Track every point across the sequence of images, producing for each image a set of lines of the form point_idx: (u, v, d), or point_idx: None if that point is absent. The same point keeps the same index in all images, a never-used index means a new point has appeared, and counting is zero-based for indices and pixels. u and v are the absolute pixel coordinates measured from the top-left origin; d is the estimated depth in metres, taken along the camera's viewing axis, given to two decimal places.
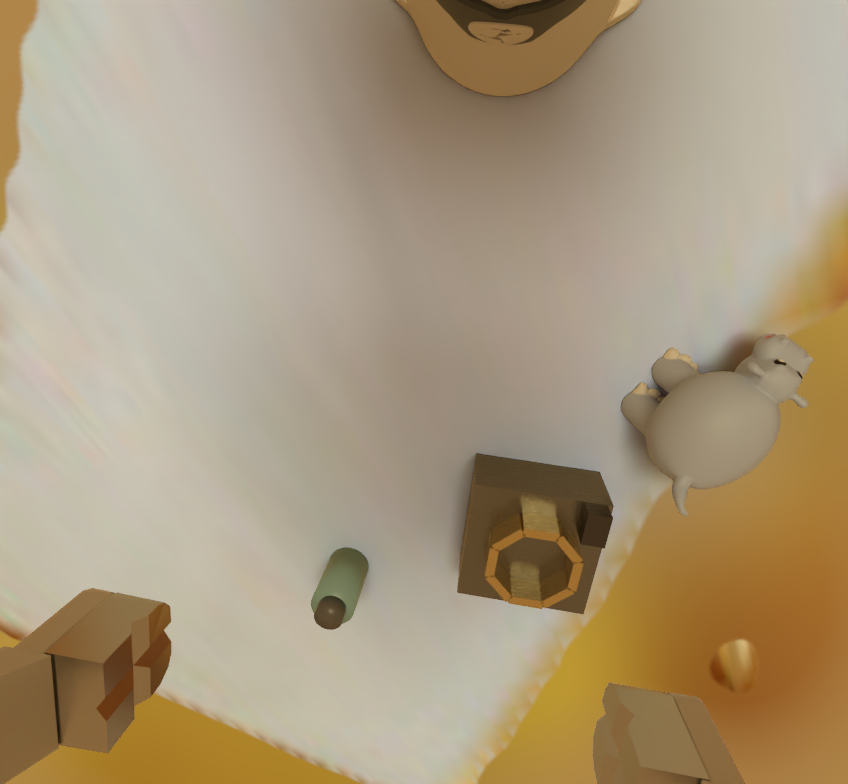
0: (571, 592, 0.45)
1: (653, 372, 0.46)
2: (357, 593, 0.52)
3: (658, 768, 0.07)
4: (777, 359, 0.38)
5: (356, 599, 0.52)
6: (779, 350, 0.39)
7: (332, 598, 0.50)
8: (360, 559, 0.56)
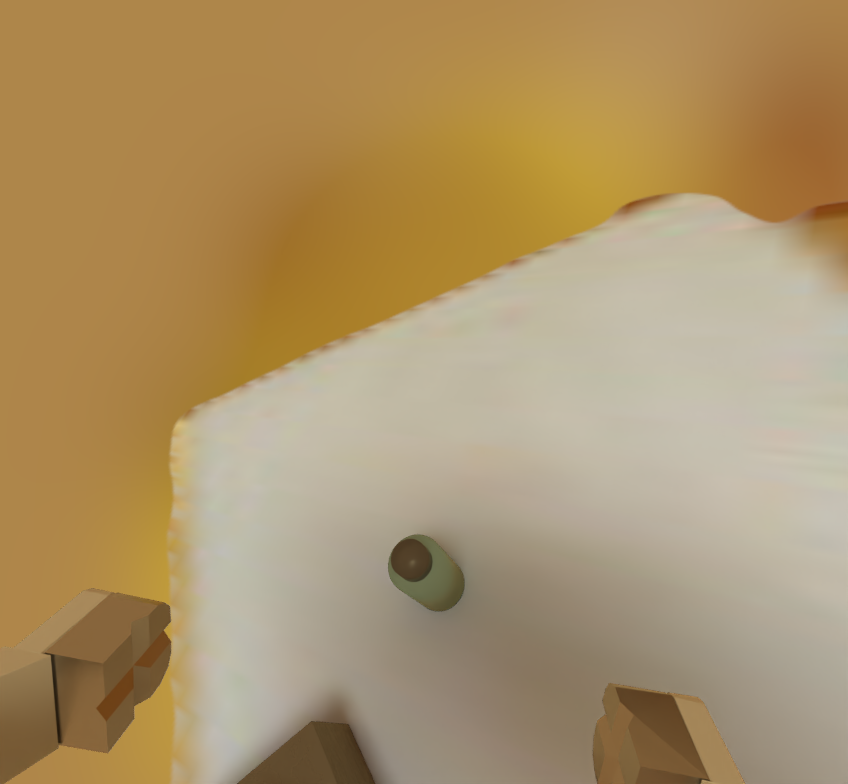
0: None
1: None
2: None
3: (658, 768, 0.07)
4: None
5: None
6: None
7: (422, 576, 0.38)
8: (434, 609, 0.42)
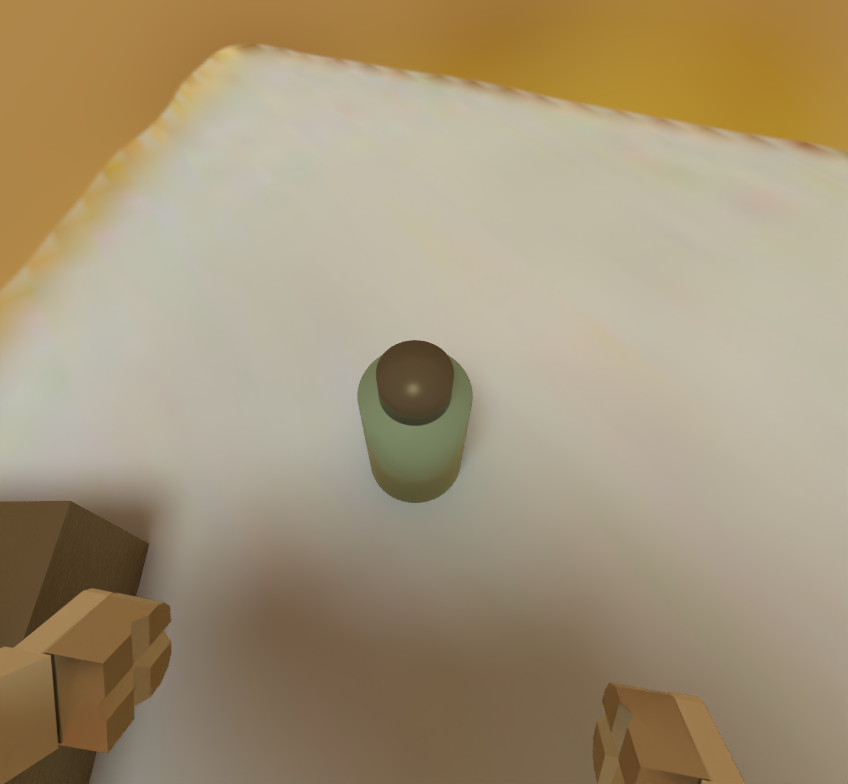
0: None
1: None
2: (363, 427, 0.21)
3: (658, 768, 0.07)
4: None
5: None
6: None
7: (414, 421, 0.19)
8: (384, 485, 0.24)
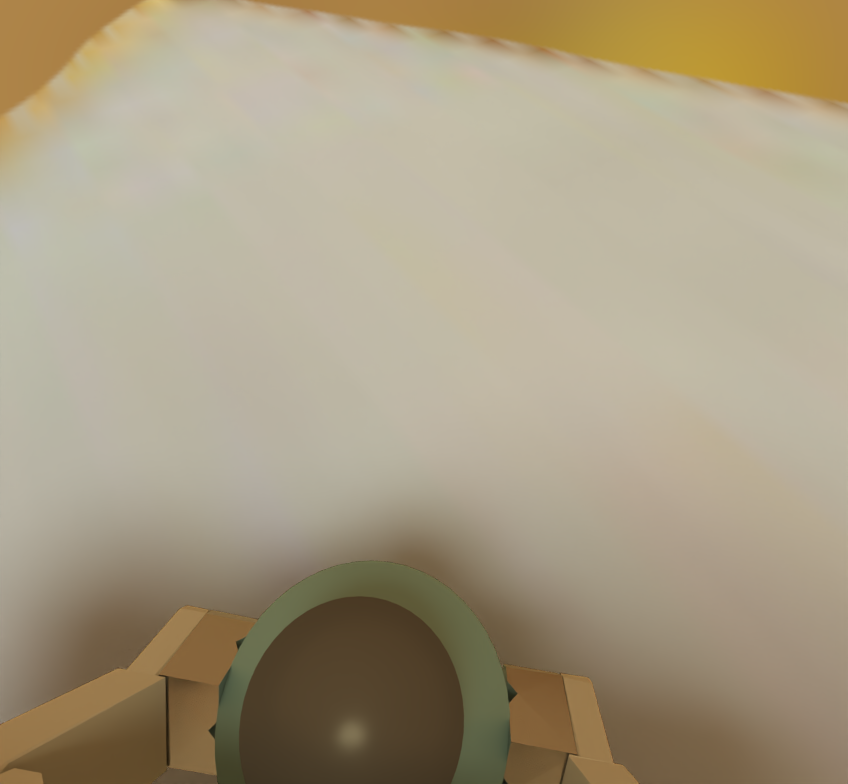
0: None
1: None
2: None
3: (529, 743, 0.07)
4: None
5: None
6: None
7: None
8: None
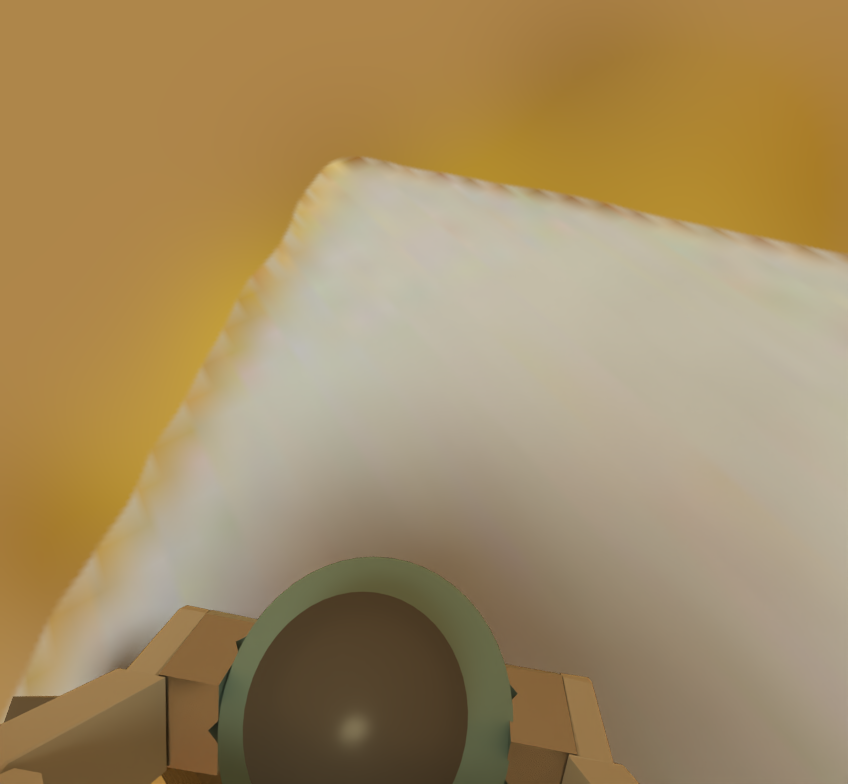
0: None
1: None
2: None
3: (529, 743, 0.07)
4: None
5: None
6: None
7: None
8: None
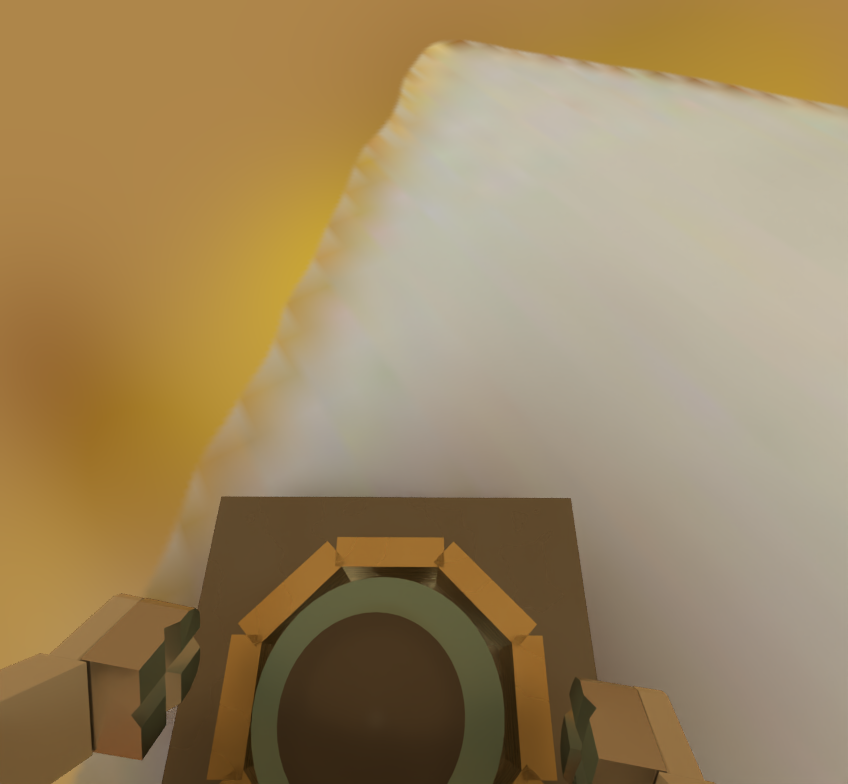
0: (247, 626, 0.13)
1: None
2: None
3: (617, 760, 0.07)
4: None
5: None
6: None
7: None
8: None
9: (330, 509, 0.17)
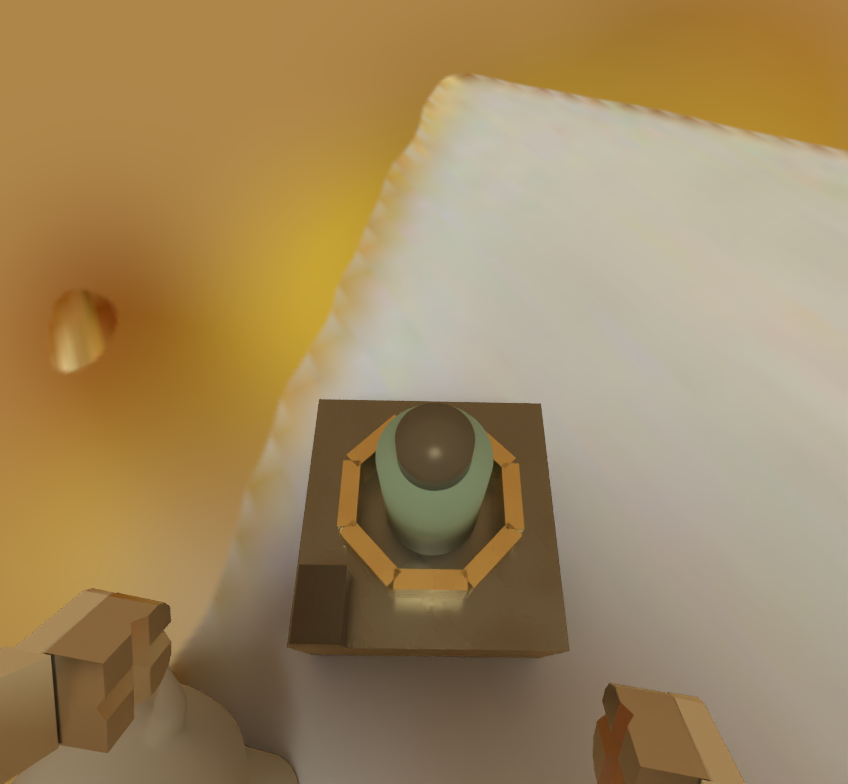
0: (351, 456, 0.23)
1: None
2: (380, 484, 0.20)
3: (658, 768, 0.07)
4: None
5: None
6: None
7: (432, 487, 0.18)
8: (399, 537, 0.23)
9: (388, 407, 0.28)
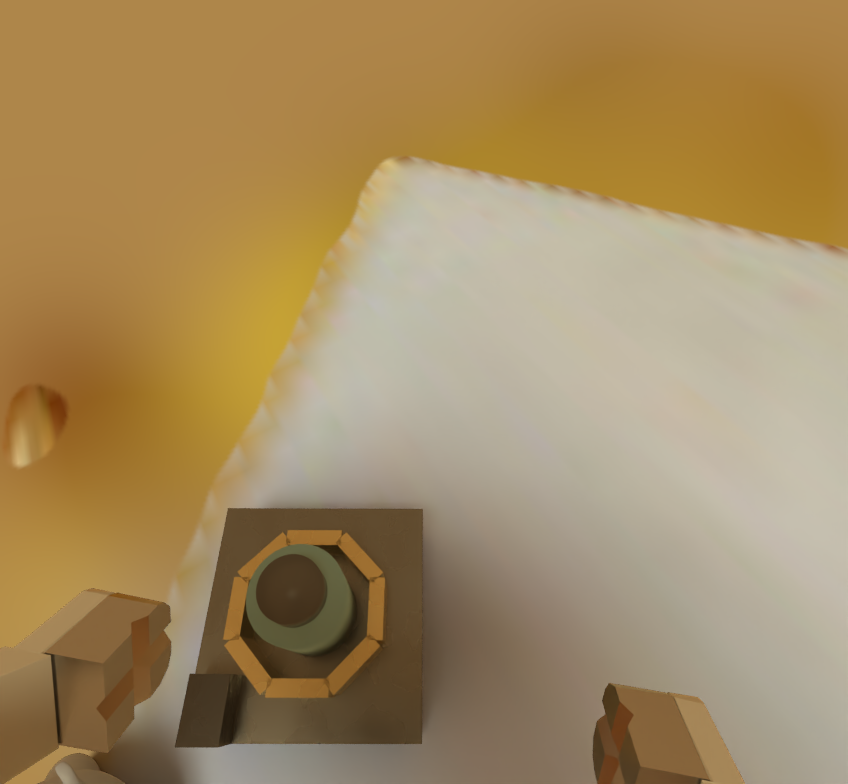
0: (241, 573, 0.27)
1: None
2: None
3: (658, 768, 0.07)
4: None
5: None
6: None
7: (287, 626, 0.22)
8: None
9: (288, 515, 0.31)
